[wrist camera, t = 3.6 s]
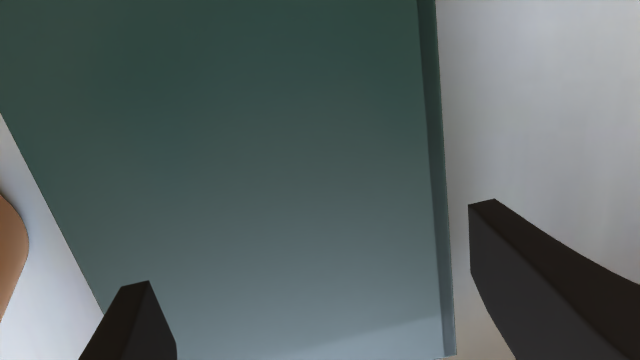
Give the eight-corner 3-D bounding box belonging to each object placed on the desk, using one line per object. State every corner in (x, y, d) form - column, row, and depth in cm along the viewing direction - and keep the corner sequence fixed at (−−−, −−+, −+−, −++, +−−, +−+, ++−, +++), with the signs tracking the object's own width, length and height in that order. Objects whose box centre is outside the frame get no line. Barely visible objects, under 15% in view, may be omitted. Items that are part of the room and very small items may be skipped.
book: (164, 369, 22) (161, 427, 20) (-38, -65, 14) (-79, -41, 12) (434, 304, 22) (456, 354, 20) (394, -155, 14) (426, -146, 12)
